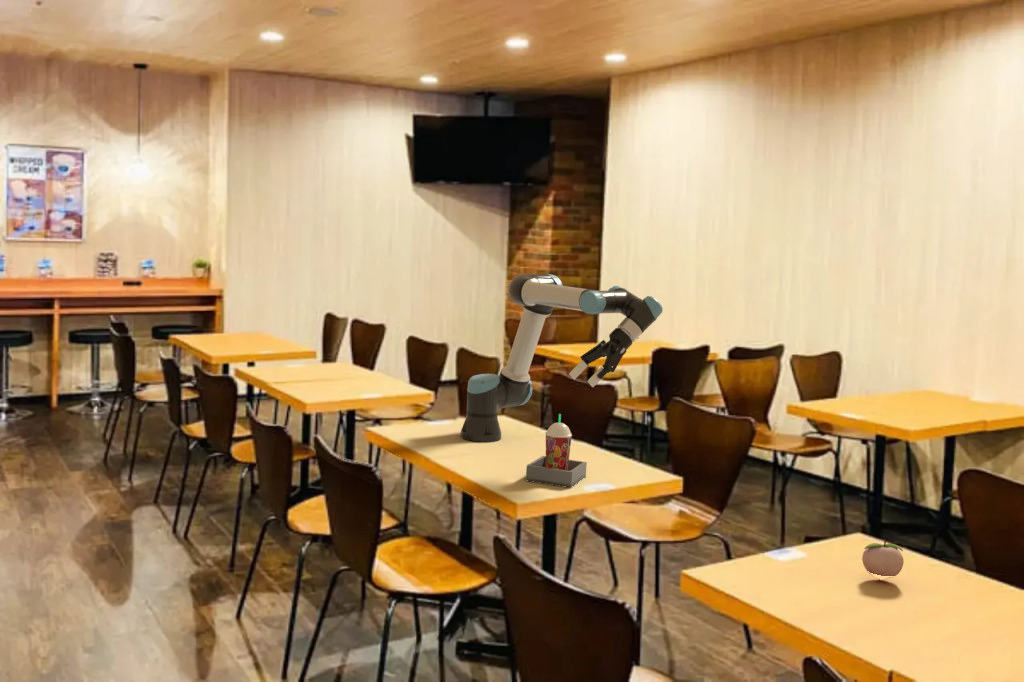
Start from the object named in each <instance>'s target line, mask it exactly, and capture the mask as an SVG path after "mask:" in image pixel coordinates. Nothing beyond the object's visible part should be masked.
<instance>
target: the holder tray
mask: <svg viewBox="0 0 1024 682" xmlns="http://www.w3.org/2000/svg"><path fill="white" fill-rule="evenodd" d="M587 463H588V462H587V461H581V460H576V459H575V460H574V459H569V462H568V470H567V471H566V470H560V469H553V468H546V455H542V456H540V457H538V458H537V459H535V460H534V461H532V462H530V463H528V464H526V472H525V473H526V474H525V481H526V480H528V481H527V482H529V481H534V482H533V483H535V482H541V483H540V484H542V483H547V484H546V485H548V484H553V485H552V486H555V485H560V486H559V487H561V486H566V487H565V488H568V487H572V486H573V487H574V485H575V484H576V483H577V484H579V483H580V482H581V481H583V480H584V479H586V478H587V477H586V476H587V466H588V465H587ZM583 478H584V479H583ZM582 479H583V480H582ZM580 480H581V481H580ZM579 481H580V482H579ZM578 482H579V483H578ZM577 484H576V485H577ZM576 485H575V486H576ZM573 487H572V488H573Z"/></svg>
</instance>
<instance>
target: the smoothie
mask: <svg viewBox="0 0 1024 682" xmlns="http://www.w3.org/2000/svg"><path fill="white" fill-rule="evenodd" d="M561 419H562V414H561V413H558V422H554V423H551V425H550V426H549V427H548V429H547V430H546V432H545V456H546V468H553V469H560V470H566V471H567V470H568V462H569V460H570V453H571V446H572V437H573V434H572V432H571V430H570V428H569V426H568V425H566V424H565V423H563V422H561Z"/></svg>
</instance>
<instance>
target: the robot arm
mask: <svg viewBox="0 0 1024 682" xmlns="http://www.w3.org/2000/svg"><path fill="white" fill-rule="evenodd" d="M508 295H509V298H510V299H511V301H512V302H513V303H515V304H516V305H518V306H521V307H522V309H523V311H522V315H521V318H520V322H519V325H518V328H517V331H516V335H515V337H514V340H513V344H512V346H511V347H512V348H511V350H510V353H509V356H508V359H507V360H508V361H507V362H506V365H505V366H503V367H501V369H500V372H499V375H498V374H495V373H481V374H475V375H472V376H470V378H469V379H468V381H467V388H466V391H467V392H466V417H465V419H464V421H463V425H462V427H461V429H460V438H461V437H462V439H463V440H467V441H470V440H472V441H471V442H478V441H481V443H485V442H487V443H488V442H489V443H490V442H497V441H500V440H501V439H502V430H501V426H500V422H499V420H498V416H499V415H498V412H499V409H503V408H511V407H512V408H516V407H519V406H522V405H525V404H526V403H528V402H529V400H530V398H531V397H532V395H533V386H532V385H533V383H532V380H531V376H530V374H529V371H530V367H531V366H532V365H531V364H532V361H533V358H534V355H535V353H536V349H537V346H538V342H539V340H540V336H541V333H542V331H543V329H544V328H543V327H544V324H545V322H546V319H547V317H548V316H550V315H552V313H553V310H554V308H559V309H566V310H567V309H568V310H574V311H579V312H584V313H585V314H588V315H597V314H598V315H599V314H600V315H601V314H622V315H623V316H624V319H623V320H622V321H621V322H620V323H619V324H618V325H617V327H616V328H614V330H613V329H612V331H611V332H610V333H609V335H608V337H609V340H608V341H606V340H605V339H603V340H601V341H600V342H599V343H598V344H597V345H595V346H593V347H592V348H590V349H589V350H587V351H586V352H585V353H583V354H582V355H581V356H580V361H579V363H578V364H576V366H575V367H574V368H573V369H572V370H571V371H570V372H569V373H568V375H569V376H570V377H571V378H572V379H573V380H576V379H577V378H578V377H579V376H580V375H581V374H582V373H583V372H584V371H585V370H586V369H587V368H588V367H589V364H591V363H593V362H596V361H597V360H599V359H600V358H605V357H606V358H605V361H604V363H603V364H602V365H601V366H600V368H598V369H597V370H596V371H595V372H594V374H593V375H591V376H590V378H589V379H588V380H587V383H588V384H589V385H590V386H591V387H592V388H594V387H595V386H597V384H598V383H599V382H600V381H601V380H602V379H604V377H605V376H606V375H607V374H610V373H614V372H615V371H616V370H617V367H618V365H619V363H620V362H621V360H622V358H623V356H624V355H625V354H626V353H627V350H628V349H629V348H630V347H631V346H632V344H633V343H634V342H635V341H636V340H638V339H640V336H641V335H642V334H643V333H645V331H646V330H647V329H648V328H649V327H650V326H651V325H652V324H653V323H655V321H657V320H658V318H659V317H660V316H661V315H662V313H663V311H664V310H663V307H662V304H661V302H659V301H658V299H656V298H655V297H654V296H650V295H646V296H645V297H644V298H643V299H641V298H639V297H638V296H637V295H635V294H634V293H632V292H630V291H629V290H627V289H626V288H624V287H621V286H619V285H613V286H612V287H610V288H609V289H608V290H595V289H588V288H583V287H582V288H581V287H574V286H568V285H563V283H562V280H561V279H560V278H559V277H558V276H556V275H555V274H549V273H523V274H519V275H517V276H515V277H514V278H512V280H511V281H510V283H509V285H508Z"/></svg>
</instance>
